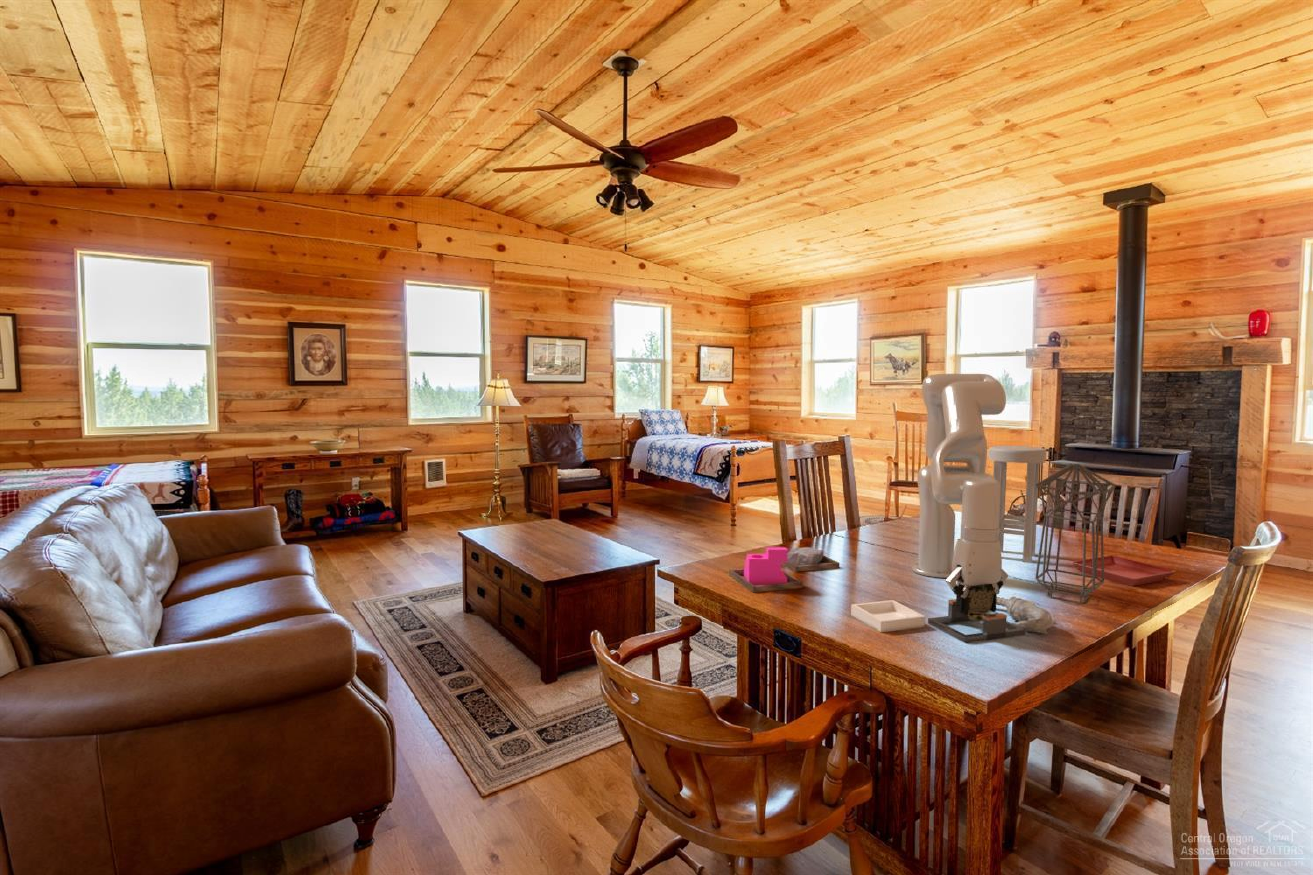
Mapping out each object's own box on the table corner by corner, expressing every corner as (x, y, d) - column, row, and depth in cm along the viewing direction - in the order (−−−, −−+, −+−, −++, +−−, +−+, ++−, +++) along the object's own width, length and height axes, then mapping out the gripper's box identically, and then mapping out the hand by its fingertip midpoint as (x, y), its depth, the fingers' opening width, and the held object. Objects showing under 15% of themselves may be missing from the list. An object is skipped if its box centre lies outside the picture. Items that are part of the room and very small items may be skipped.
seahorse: (959, 607, 157) (1039, 622, 139) (987, 585, 162) (1068, 596, 144) (966, 626, 157) (1047, 644, 139) (994, 603, 162) (1075, 617, 144)
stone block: (782, 569, 197) (814, 568, 192) (780, 553, 198) (811, 551, 192) (796, 562, 207) (826, 560, 202) (793, 547, 208) (824, 545, 202)
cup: (998, 626, 141) (999, 590, 141) (961, 623, 143) (963, 588, 142) (987, 613, 149) (989, 579, 148) (953, 611, 150) (954, 578, 149)
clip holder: (984, 616, 153) (985, 595, 153) (1026, 634, 142) (1027, 612, 141) (927, 623, 149) (928, 602, 149) (965, 643, 137) (966, 620, 137)
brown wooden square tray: (774, 570, 191) (774, 565, 191) (802, 587, 175) (802, 582, 175) (729, 574, 187) (729, 569, 187) (753, 592, 171) (753, 586, 171)
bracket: (786, 587, 175) (787, 549, 174) (748, 586, 175) (749, 549, 174) (779, 574, 187) (779, 539, 186) (743, 573, 187) (744, 539, 186)
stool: (989, 547, 218) (994, 444, 215) (1043, 554, 209) (1048, 447, 206) (981, 557, 206) (986, 448, 203) (1037, 565, 197) (1043, 451, 194)
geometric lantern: (1109, 597, 168) (1119, 463, 164) (1096, 613, 156) (1106, 470, 153) (1041, 583, 179) (1048, 457, 175) (1024, 597, 167) (1031, 464, 164)
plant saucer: (1133, 589, 174) (1134, 577, 174) (1069, 572, 191) (1070, 561, 191) (1176, 582, 181) (1177, 570, 181) (1110, 565, 198) (1111, 555, 198)
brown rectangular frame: (811, 554, 210) (811, 549, 210) (839, 567, 194) (839, 562, 194) (770, 557, 206) (770, 552, 206) (795, 571, 190) (795, 566, 190)
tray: (892, 610, 158) (893, 599, 158) (924, 627, 147) (925, 616, 146) (851, 614, 155) (851, 604, 154) (880, 632, 143) (880, 621, 143)
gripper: (997, 527, 150) (994, 601, 152) (934, 532, 145) (931, 609, 147) (1024, 535, 143) (1020, 613, 144) (959, 541, 138) (955, 621, 140)
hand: (975, 610), depth 146 cm, fingers closed on cup, 6 cm apart
